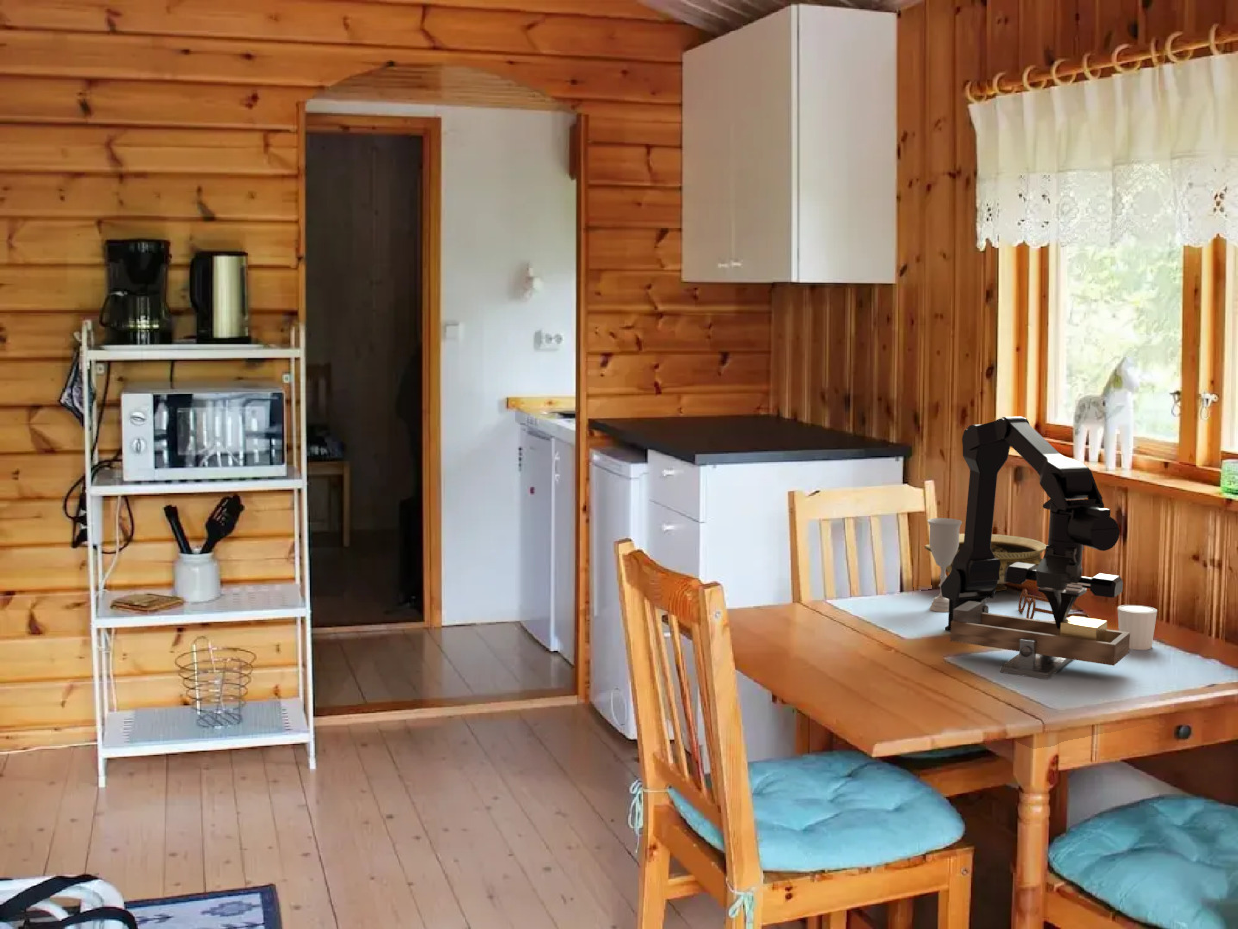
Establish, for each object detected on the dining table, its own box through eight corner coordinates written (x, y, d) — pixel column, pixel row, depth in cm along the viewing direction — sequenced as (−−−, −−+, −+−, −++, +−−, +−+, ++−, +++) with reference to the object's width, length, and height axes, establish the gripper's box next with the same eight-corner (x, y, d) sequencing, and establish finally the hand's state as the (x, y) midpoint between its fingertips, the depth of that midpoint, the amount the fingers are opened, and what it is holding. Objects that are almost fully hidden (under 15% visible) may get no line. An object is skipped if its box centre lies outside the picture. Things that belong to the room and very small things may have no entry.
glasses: (1016, 611, 296) (1017, 586, 295) (1083, 612, 295) (1084, 588, 294) (1029, 626, 283) (1030, 601, 282) (1098, 628, 282) (1099, 602, 281)
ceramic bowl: (1077, 588, 315) (1079, 542, 314) (1028, 607, 297) (1030, 559, 296) (950, 570, 335) (952, 526, 333) (897, 586, 317) (899, 541, 315)
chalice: (962, 613, 292) (965, 524, 290) (928, 613, 292) (931, 524, 290) (955, 605, 299) (957, 518, 297) (921, 604, 299) (924, 517, 297)
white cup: (1150, 652, 262) (1152, 614, 261) (1111, 647, 266) (1113, 609, 265) (1159, 644, 268) (1161, 607, 267) (1120, 639, 271) (1122, 602, 271)
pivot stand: (1000, 672, 249) (1001, 638, 248) (1028, 652, 262) (1030, 620, 261) (1047, 679, 245) (1048, 645, 244) (1073, 658, 258) (1075, 626, 257)
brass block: (1059, 645, 248) (1060, 622, 247) (1071, 638, 253) (1072, 615, 252) (1095, 651, 245) (1096, 627, 244) (1106, 643, 250) (1107, 620, 249)
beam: (950, 641, 256) (951, 610, 256) (969, 629, 265) (970, 599, 264) (1113, 665, 241) (1115, 633, 241) (1128, 652, 250) (1130, 621, 249)
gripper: (996, 539, 247) (990, 629, 249) (1109, 554, 237) (1102, 647, 239) (1017, 529, 256) (1011, 616, 258) (1126, 543, 246) (1119, 633, 248)
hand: (1059, 628), depth 251 cm, fingers closed
